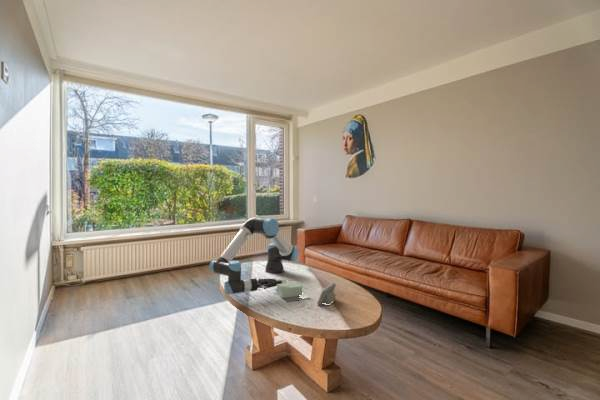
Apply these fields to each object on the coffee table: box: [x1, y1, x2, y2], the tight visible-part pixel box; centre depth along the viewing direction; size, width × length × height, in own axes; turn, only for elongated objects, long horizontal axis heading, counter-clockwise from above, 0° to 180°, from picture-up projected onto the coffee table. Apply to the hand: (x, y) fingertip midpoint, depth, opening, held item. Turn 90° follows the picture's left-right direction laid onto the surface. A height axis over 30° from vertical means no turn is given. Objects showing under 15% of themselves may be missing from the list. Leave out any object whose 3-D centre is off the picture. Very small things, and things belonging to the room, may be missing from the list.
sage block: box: [276, 280, 303, 299], centre depth 188 cm, size 6×10×14 cm
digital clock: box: [316, 282, 336, 306], centre depth 177 cm, size 16×9×11 cm, turn 137°
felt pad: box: [274, 288, 304, 303], centre depth 189 cm, size 16×22×1 cm
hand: (285, 280), depth 186 cm, fingers closed
